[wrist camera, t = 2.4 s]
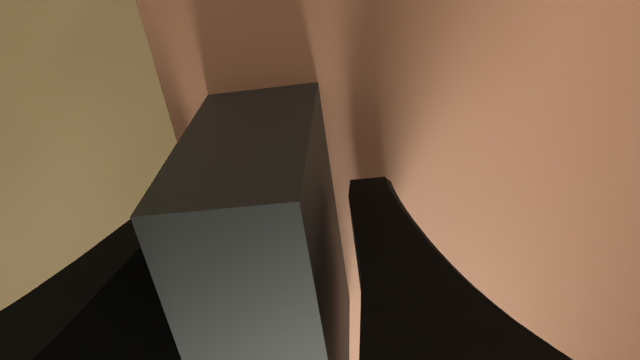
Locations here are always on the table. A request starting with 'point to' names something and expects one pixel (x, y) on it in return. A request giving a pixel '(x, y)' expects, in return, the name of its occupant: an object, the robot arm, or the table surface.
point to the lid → (394, 164)
